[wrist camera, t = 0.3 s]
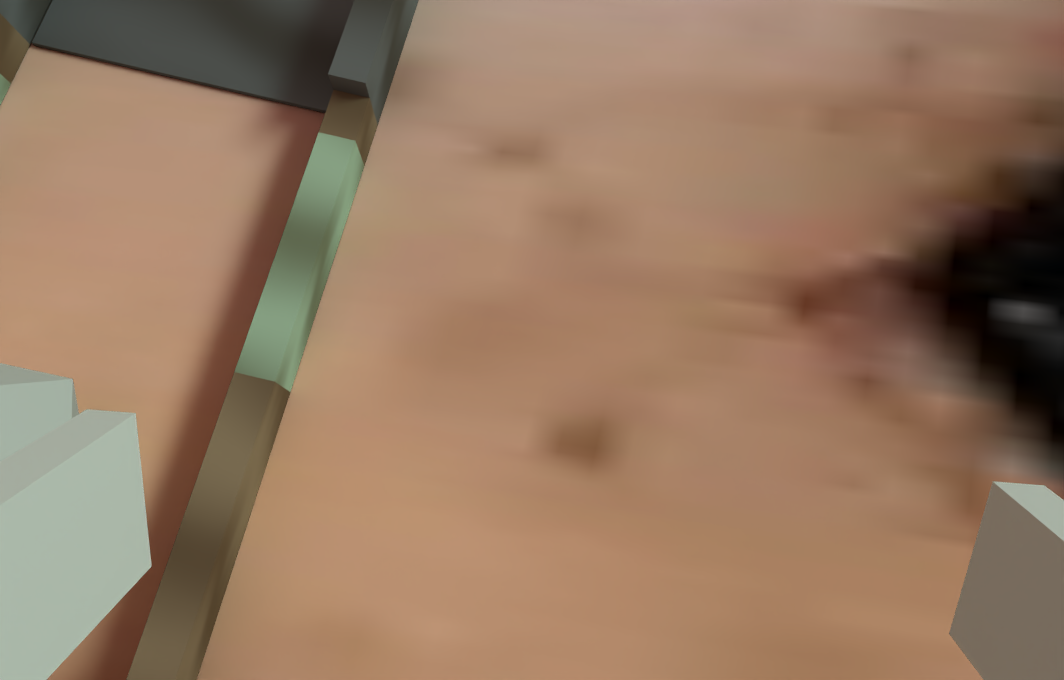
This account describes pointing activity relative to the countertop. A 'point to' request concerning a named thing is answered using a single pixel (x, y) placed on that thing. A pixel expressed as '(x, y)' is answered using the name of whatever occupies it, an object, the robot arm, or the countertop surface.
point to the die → (32, 406)
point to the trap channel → (302, 256)
